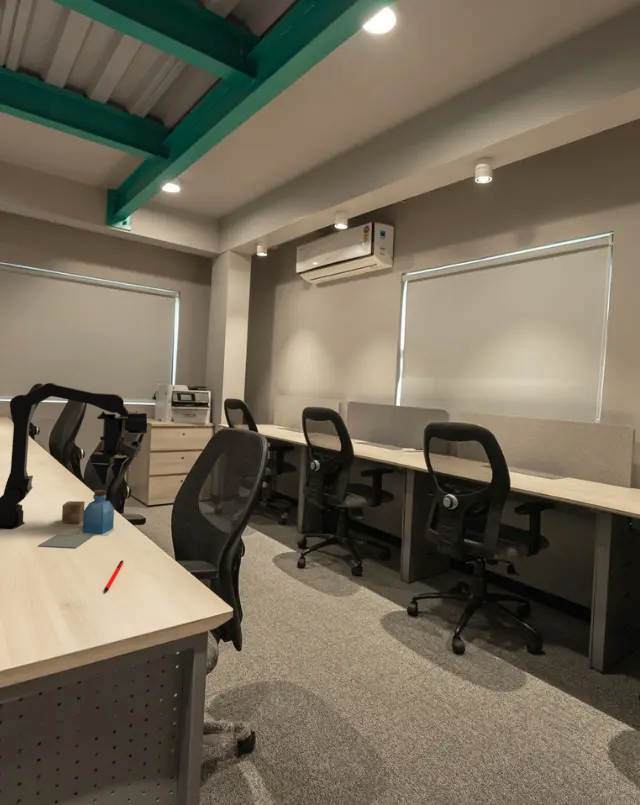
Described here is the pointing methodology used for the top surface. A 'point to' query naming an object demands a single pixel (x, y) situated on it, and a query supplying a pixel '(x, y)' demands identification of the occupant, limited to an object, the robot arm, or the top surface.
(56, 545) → the slate coaster
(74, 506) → the walnut block
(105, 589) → the pen
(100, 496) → the perfume bottle
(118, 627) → the top surface
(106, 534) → the code mat
